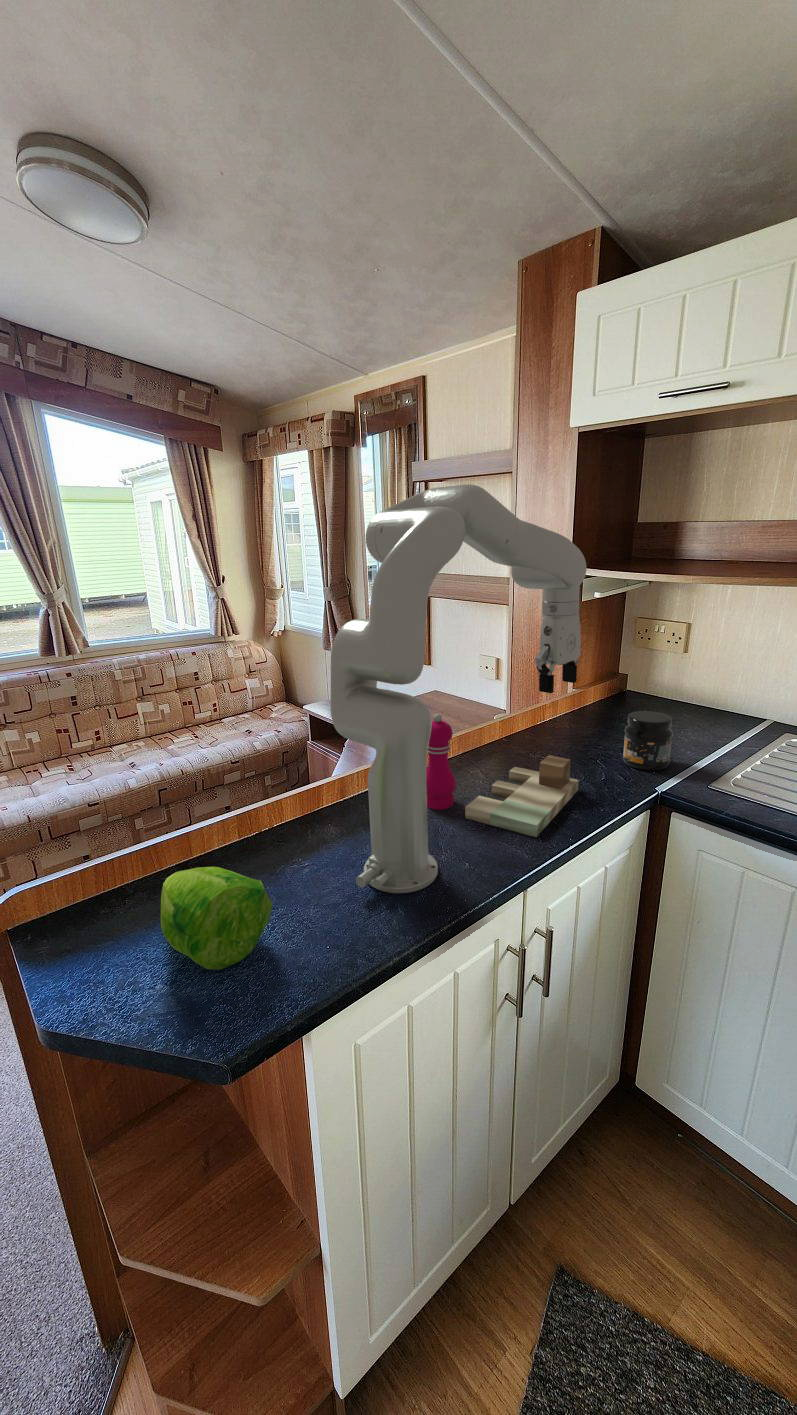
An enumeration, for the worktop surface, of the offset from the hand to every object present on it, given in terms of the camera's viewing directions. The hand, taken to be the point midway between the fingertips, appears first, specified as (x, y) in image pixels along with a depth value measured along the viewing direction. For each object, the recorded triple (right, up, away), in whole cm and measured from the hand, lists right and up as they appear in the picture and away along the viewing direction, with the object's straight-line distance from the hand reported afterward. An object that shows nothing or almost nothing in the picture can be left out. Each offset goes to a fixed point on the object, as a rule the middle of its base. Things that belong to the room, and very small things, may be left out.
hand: (558, 686), depth 125 cm
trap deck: (-9, -25, -5) cm, 27 cm away
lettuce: (-62, -39, -44) cm, 85 cm away
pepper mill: (-26, -25, -4) cm, 37 cm away
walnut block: (-1, -21, -2) cm, 21 cm away
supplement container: (+25, -18, +13) cm, 34 cm away
